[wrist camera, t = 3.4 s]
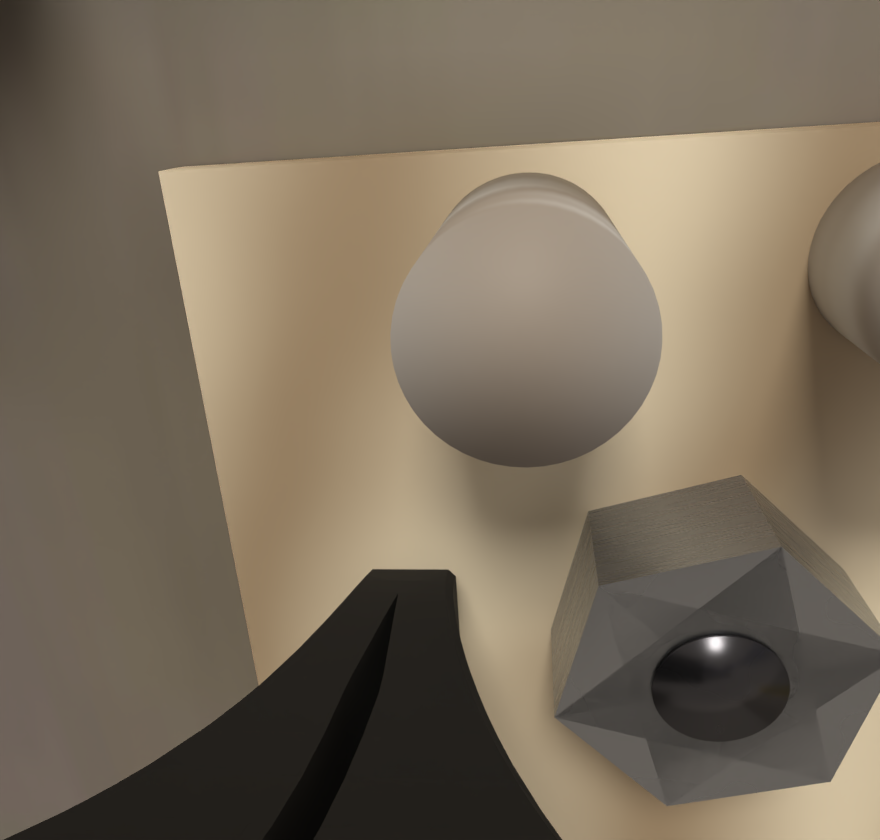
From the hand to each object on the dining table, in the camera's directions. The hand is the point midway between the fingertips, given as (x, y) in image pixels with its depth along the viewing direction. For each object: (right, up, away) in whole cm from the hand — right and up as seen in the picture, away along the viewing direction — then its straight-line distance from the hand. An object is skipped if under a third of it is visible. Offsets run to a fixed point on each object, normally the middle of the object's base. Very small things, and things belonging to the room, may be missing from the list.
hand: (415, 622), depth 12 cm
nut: (+4, 0, 0) cm, 4 cm away
